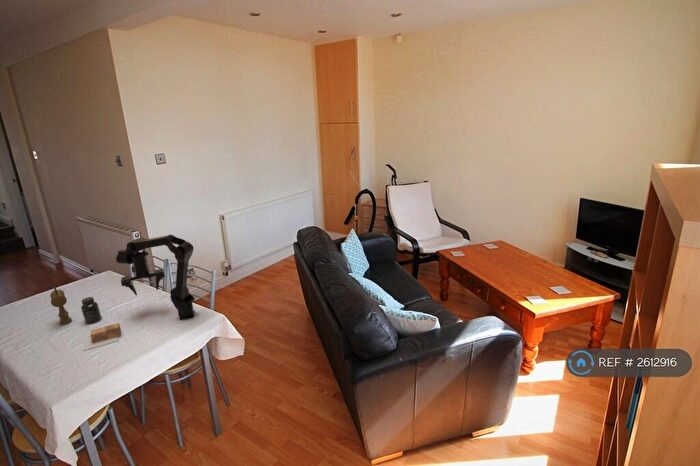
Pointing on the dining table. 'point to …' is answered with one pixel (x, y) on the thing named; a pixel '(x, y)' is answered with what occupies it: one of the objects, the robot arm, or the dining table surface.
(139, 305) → the dining table surface
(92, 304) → the supplement bottle
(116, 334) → the walnut block
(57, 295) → the kendama
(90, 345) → the felt pad
